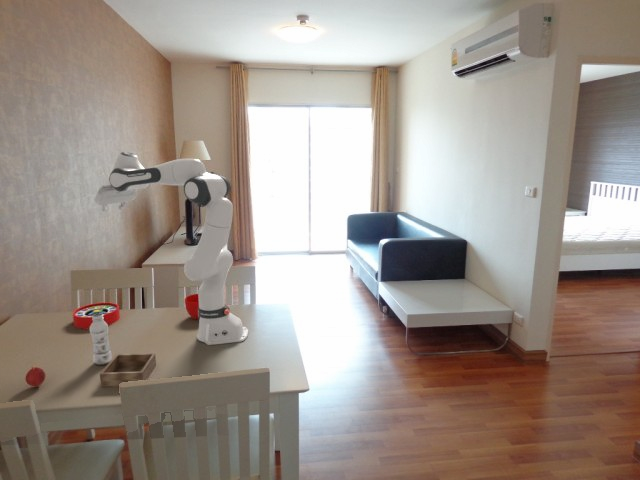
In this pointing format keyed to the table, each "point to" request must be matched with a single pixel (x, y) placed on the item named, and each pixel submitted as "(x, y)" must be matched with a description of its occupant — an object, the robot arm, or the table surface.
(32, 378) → the red pomegranate
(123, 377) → the box
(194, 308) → the ceramic cup
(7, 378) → the table surface
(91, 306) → the toy clock
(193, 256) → the robot arm
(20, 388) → the table surface
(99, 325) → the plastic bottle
